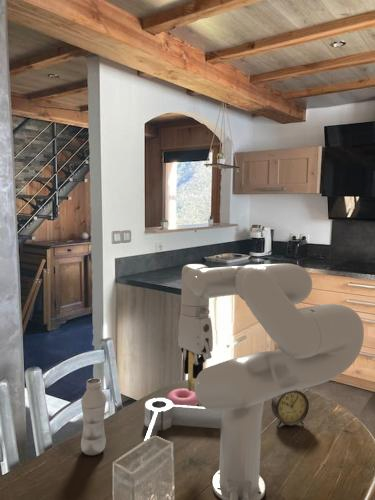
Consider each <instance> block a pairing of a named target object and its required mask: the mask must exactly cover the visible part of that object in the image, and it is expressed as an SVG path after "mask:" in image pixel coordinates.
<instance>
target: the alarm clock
mask: <svg viewBox="0 0 375 500" xmlns="http://www.w3.org/2000/svg"><path fill="white" fill-rule="evenodd" d="M309 402H310V401H309V399H308V398H307V396H306V394H305V393H304V392H302V391H301V389H299V390H294V391H290V392H287V393H284V394H281V395H279V396H277V397H275V398H272V399H271V402H270V403H271V411H272V414H273V415H274V417H276V418H277V419H278V421H279V422H278V424H277V426H276V428H277V429H278V428H279V426H281V424H283V425H286V426H288V427H289V426H291V427H292V426H296V425H298V424H300V423H301V425H304V422H303V421H304V420H305V419H306V417H307V415H308V413H309V410H310V409H309V408H310V403H309Z"/></svg>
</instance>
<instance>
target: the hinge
mask: <svg viewBox="0 0 375 500" xmlns="http://www.w3.org/2000/svg"><path fill="white" fill-rule="evenodd" d="M166 398H167V397H154V398H151V399H148V400H147V401H145V403H144V426H145V427H146V428H148V430H147V431H146V435H145V437H144V439H143V442H144V441H146V440H147V439H149V438H150V437H152V436H155V435H156V436H157V435H158V432H159V430H160V431H165V430H167V429H169V428H171V427H172V426H182V427H183V426H184V427H194V428H195V427H197V428H206V429H207V428H209V429H220V430H221V417H222V412H223V411H221V412H212V411H209V410H207V409H205V408H204V407H203V406H198V405H197V406H184V405H173V402H171V401H170V400H168V399H166Z"/></svg>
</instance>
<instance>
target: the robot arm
mask: <svg viewBox="0 0 375 500" xmlns="http://www.w3.org/2000/svg"><path fill="white" fill-rule="evenodd" d="M181 269H182V270H181V298H180V299H181V303H180V308H181V309H180V315H179V321H178V333H177V341H178V342H177V346H178V348H179V349H180V351H181V353H182V359H184V360H183V361H184V362H183V363H184V365H183V368H184V369H183V373H184V374H185V375H188V353H189V351H191V352H193V353H194V362H195V364H193V378H194V379H196V381H195V391H194V392H195V394H196V397H197V400H198V404H200V405H201V407H204V408H205V409H207V410H209V411H212V412H221V411H223V412H222V417H221V429H220V437H219V440H220V441H219V446H220V447H219V467H218V469H219V470H218V471H217V472H215V474H214V475H213V478H212V484H211V485H212V489H213V492H214V493H215V495H216V496H217V497H218V498H220V499H221V500H262V499H263V497H264V496H265V493H266V483H265V481H264V479H263V478H262V477H261V475H260V466H261V465H260V462H261V444H262V442H261V441H262V429H263V428H262V427H263V413H264V405H265V403H266V401H269V400H272V399H273V398H275V397H277V396H279V395H281V394H284V393H287V392H290V391H294V390H303V389H307V388H310V387H314V386H317V385H321V384H324V383H327V382H329V381H332V380H333V379H335V378H337V377H338V376H340V375H342V374H343V373H344V372H345V371H347V370H348V369H350V367H351V366H352V365H353V364H354V363H355V361H356V360H357V358H358V356H359V355H360V352H361V350H362V347H363V344H364V339H365V332H364V331H365V330H364V329H365V328H364V324H363V321H362V319H361V317H360V315H359V314H358V313H357V312H356V310H354V309H352V308H350V307H349V306H345V305H343V304H338V303H337V304H335V303H325V304H320V305H312V306H308V307H301V308H298V307H297V306H296V305H299V304H300V303H303V302H304V301H305V300H306V299H307V298H308V297H309V295H310V294H311V292H312V288H313V281H312V280H313V279H312V277H311V275H310V273H309V272H308V270H306V269H305V268H304V267H302V266H300V265H297V264H294V263H263V264H262V263H261V264H259V263H258V264H246V265H238V266H237V265H235V266H232V265H230V266H219V267H209V266H207V265H205V264H202V263H189V264H185V265H184V266H183V267H182V268H181ZM227 296H239V298H240V299H241V300H242V301H244V302H245V304H246V307H248V308H249V310H250V312H251V313H252V315H253V316H254V318H255V319H256V320H257V321H258V323H259V324H260V325H261V327H262V328H263V329H264V331H265V332H266V333H267V336H269V338H271V340H272V341H273V343H274V344H275V346H276V347H277V348H278V349H275V350H270V351H261V352H256V353H253V354H248V355H247V354H246V355H244V356H243V355H242V356H238V357H235V358H232V359H228V360H226V361H222V362H219V363H217V364H214V365H211V366H208V367H205V368H204V364H205V362H206V361H207V360H210V359H212V353H211V352H213V349H214V348H213V344H214V341H213V340H214V337H213V336H214V335H213V325H212V318H211V316H209V315H210V299H212V298H219V297H227ZM198 355H199V356H198Z"/></svg>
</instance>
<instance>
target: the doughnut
mask: <svg viewBox="0 0 375 500" xmlns="http://www.w3.org/2000/svg"><path fill="white" fill-rule="evenodd" d="M165 398H166V399H168V400H170V401H171V402H173V405H184V406H198V404H199V401H198V400H197V397H196V394H195V391H189V390H188V388H183V387H181V388H175V389H172V390H171V391H169V392H168V394H167V396H166V397H165ZM166 399H165V400H166Z"/></svg>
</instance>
